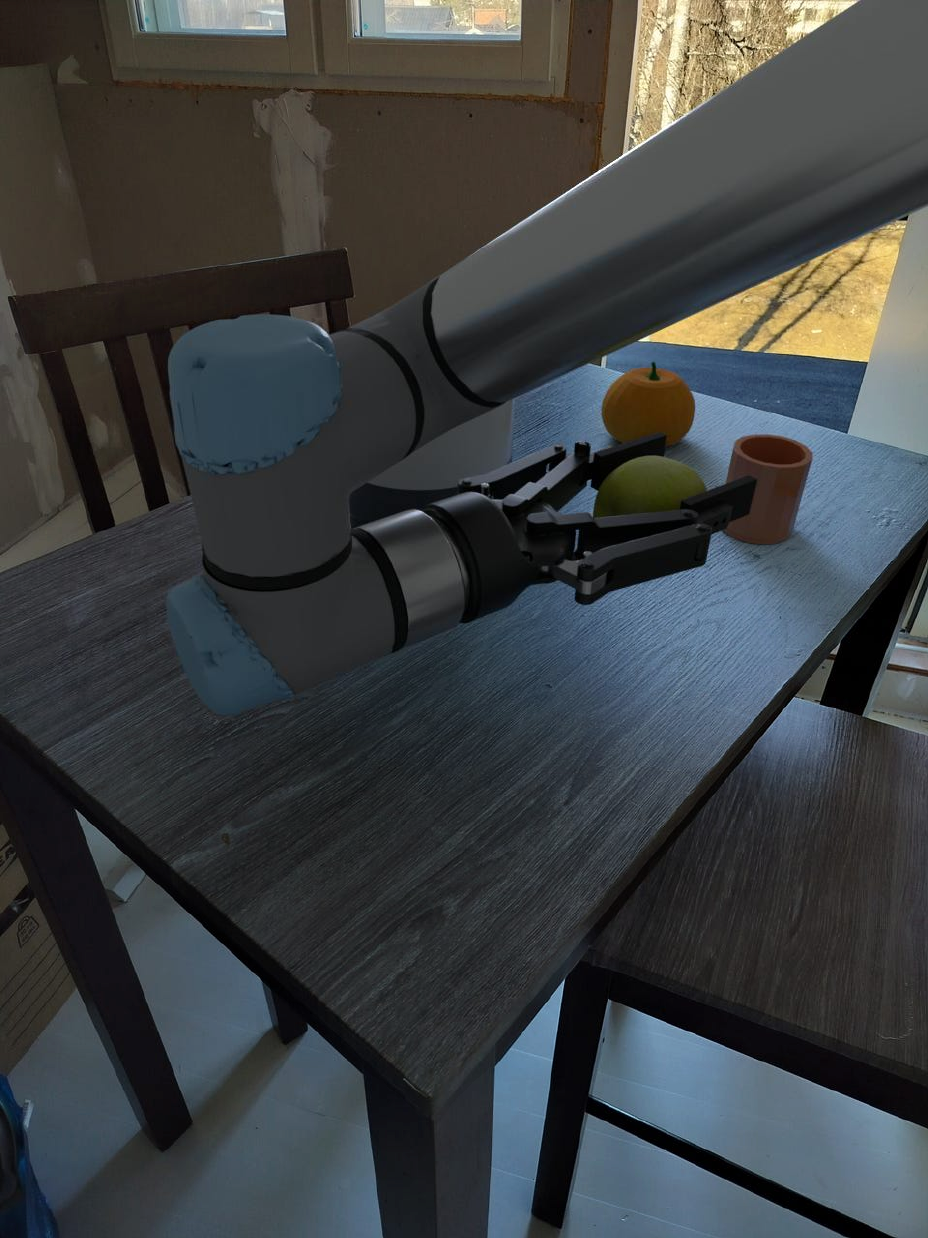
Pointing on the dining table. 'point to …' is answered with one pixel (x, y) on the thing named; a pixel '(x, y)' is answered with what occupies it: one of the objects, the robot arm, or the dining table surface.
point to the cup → (769, 486)
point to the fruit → (648, 405)
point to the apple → (646, 487)
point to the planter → (439, 466)
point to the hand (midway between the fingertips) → (702, 471)
